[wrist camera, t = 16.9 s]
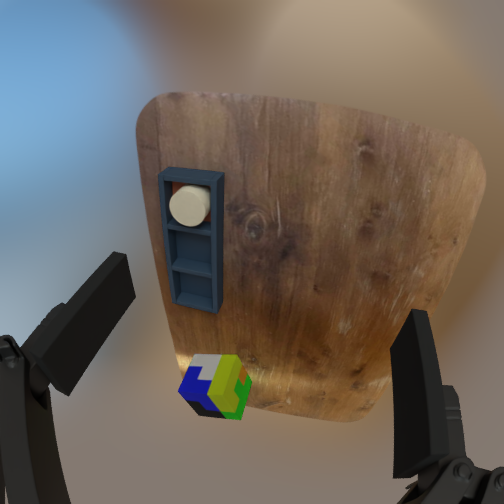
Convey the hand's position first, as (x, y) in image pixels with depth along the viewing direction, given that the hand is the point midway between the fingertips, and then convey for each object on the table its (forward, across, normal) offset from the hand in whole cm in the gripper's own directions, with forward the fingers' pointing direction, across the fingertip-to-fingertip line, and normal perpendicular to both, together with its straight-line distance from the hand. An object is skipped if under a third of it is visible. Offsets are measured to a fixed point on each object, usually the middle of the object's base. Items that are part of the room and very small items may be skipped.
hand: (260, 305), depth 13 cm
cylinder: (+26, -14, -8) cm, 30 cm away
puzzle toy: (+27, -10, -48) cm, 56 cm away
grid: (+27, -14, -16) cm, 34 cm away
